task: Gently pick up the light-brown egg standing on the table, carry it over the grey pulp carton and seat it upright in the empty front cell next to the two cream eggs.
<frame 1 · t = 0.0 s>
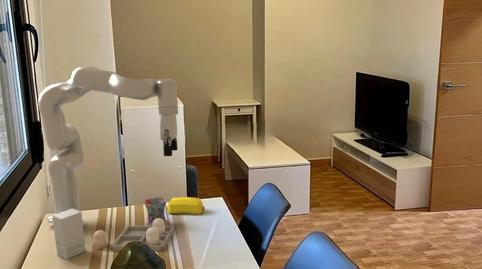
hand: (170, 153, 184), 31 cm above the table, tool pointing down, fingers open, 9 cm apart
egg far b: (159, 234, 181), resting on carton
egg: (100, 247, 173), on the table
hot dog: (185, 212, 207), on the table
carton: (144, 240, 177), on the table
skincare box: (71, 254, 168), on the table
egg far a: (153, 244, 172), resting on carton
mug: (158, 224, 194), on the table
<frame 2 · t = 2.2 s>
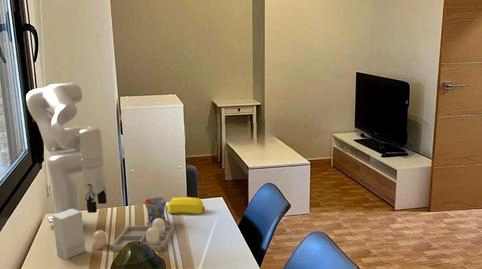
hand: (97, 207, 169), 16 cm above the table, tool pointing down, fingers open, 9 cm apart
nothing on the table moved.
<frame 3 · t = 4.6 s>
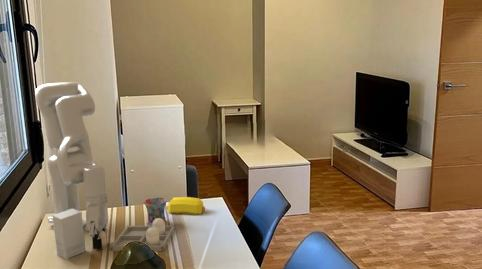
hand: (100, 245, 172), 1 cm above the table, tool pointing down, fingers closed on egg, 4 cm apart
egg: (100, 247, 173), on the table, touching gripper
everything else where it was.
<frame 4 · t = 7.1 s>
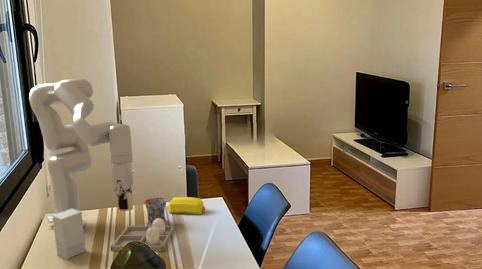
hand: (125, 206, 170), 16 cm above the table, tool pointing down, fingers closed on egg, 4 cm apart
egg: (126, 208, 170), point 15 cm above the table, touching gripper
everything else where it was.
when the fingers open (3 cm above the table, at t = 10.0 s): egg drops 1 cm, resting on carton.
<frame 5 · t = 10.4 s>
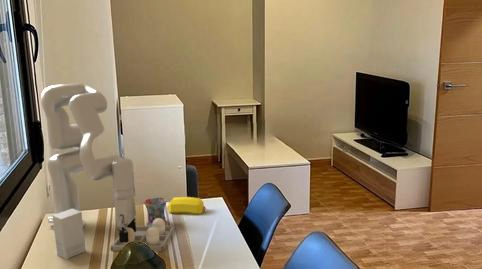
hand: (128, 236, 172), 4 cm above the table, tool pointing down, fingers open, 8 cm apart
egg: (128, 244, 173), resting on carton
everything else where it was.
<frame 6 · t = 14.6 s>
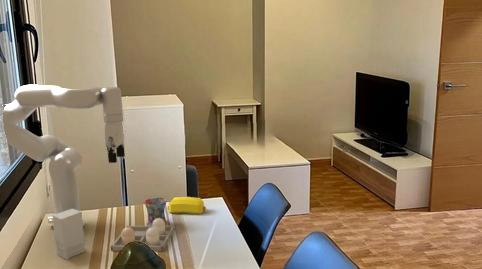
hand: (116, 159, 189), 28 cm above the table, tool pointing down, fingers open, 9 cm apart
nothing on the table moved.
at the end: egg inside the target area on the carton (0.1 cm from its centre), point 0.5 cm above the carton's base; egg tilted 0°; the gripper is holding nothing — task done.
